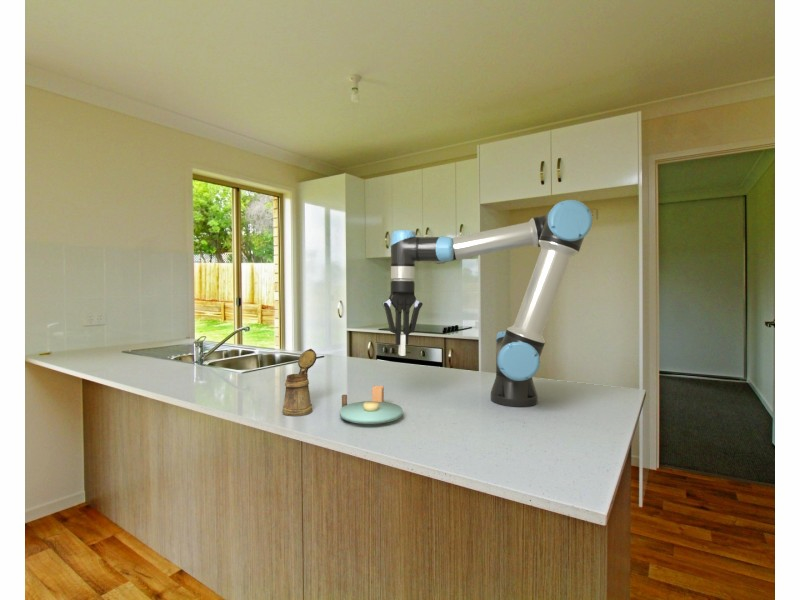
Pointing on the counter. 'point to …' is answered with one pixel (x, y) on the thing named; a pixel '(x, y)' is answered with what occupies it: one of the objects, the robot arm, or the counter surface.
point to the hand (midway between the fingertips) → (401, 354)
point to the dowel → (344, 400)
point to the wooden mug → (299, 387)
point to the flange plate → (370, 416)
